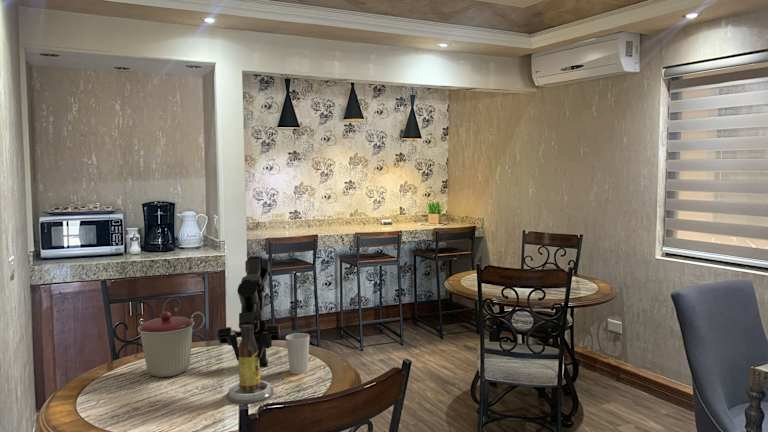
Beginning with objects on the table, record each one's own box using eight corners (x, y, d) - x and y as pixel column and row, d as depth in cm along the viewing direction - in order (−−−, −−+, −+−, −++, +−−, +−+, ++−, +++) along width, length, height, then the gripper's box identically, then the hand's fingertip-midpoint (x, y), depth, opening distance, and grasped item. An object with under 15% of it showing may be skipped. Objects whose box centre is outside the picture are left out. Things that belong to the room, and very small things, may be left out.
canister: (128, 378, 199) (124, 316, 198) (167, 361, 216) (163, 304, 214) (171, 384, 193) (167, 320, 191) (207, 366, 209) (204, 307, 208)
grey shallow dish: (229, 388, 188) (228, 381, 188) (274, 384, 190) (273, 377, 190) (224, 405, 174) (224, 398, 174) (273, 401, 176) (272, 394, 176)
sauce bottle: (261, 390, 180) (258, 326, 178) (239, 393, 178) (236, 328, 176) (260, 383, 186) (257, 321, 184) (239, 385, 185) (236, 322, 183)
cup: (288, 367, 206) (286, 333, 205) (311, 366, 207) (309, 332, 206) (286, 375, 198) (284, 340, 197) (310, 374, 199) (309, 339, 198)
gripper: (216, 302, 183) (212, 348, 173) (278, 299, 185) (277, 344, 175) (221, 320, 191) (218, 365, 181) (280, 317, 193) (280, 361, 184)
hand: (248, 359), depth 180 cm, fingers closed on sauce bottle, 6 cm apart
